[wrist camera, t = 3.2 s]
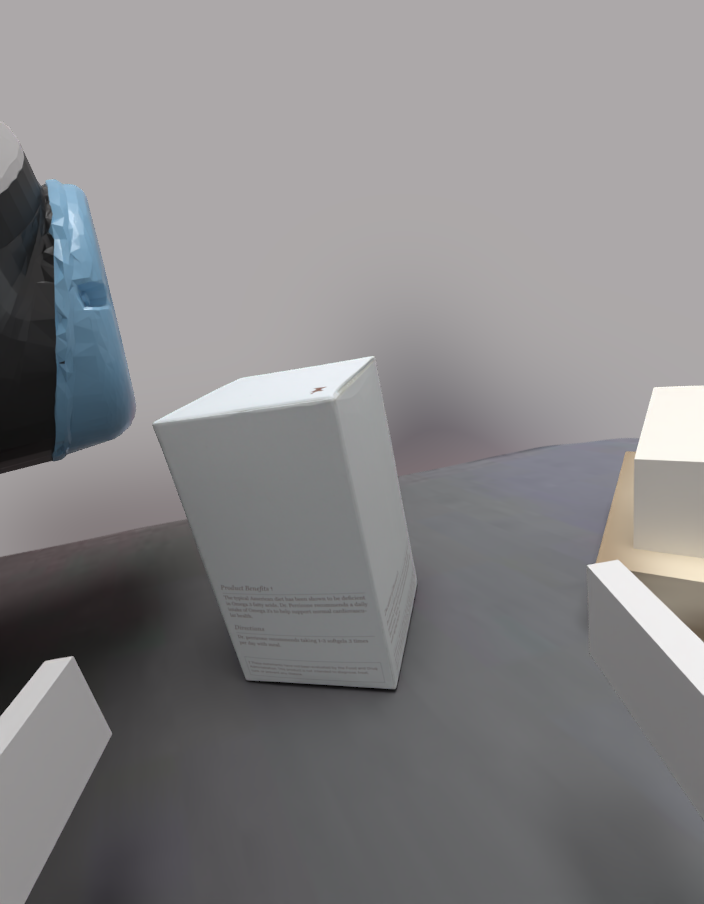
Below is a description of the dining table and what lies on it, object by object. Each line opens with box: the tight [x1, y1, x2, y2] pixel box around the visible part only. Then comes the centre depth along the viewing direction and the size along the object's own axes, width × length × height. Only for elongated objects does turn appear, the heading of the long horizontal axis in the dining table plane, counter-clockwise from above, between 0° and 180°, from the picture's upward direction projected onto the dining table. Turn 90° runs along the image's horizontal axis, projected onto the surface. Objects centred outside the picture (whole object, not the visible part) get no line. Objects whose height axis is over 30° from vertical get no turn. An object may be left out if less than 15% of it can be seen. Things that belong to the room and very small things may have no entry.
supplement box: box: [153, 356, 417, 689], centre depth 21 cm, size 7×7×13 cm
